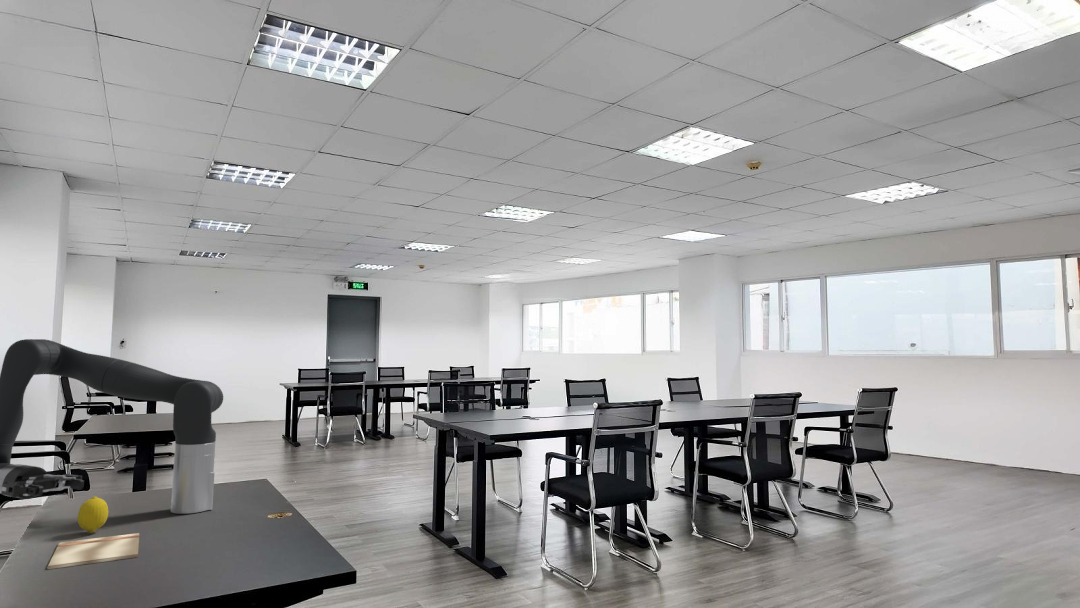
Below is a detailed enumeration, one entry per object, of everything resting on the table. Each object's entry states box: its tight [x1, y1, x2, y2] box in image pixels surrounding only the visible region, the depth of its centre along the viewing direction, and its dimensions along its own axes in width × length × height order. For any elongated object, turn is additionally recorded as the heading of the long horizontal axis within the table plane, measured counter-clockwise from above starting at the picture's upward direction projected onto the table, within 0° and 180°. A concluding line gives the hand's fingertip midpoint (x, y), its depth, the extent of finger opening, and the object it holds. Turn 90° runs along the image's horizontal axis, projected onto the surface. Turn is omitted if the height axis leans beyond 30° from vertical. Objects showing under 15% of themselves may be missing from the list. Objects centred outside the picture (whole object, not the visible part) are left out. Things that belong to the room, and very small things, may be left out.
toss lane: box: [46, 532, 140, 570], centre depth 123 cm, size 14×18×1 cm
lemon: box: [77, 495, 109, 534], centre depth 136 cm, size 6×6×8 cm
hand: (62, 488), depth 140 cm, fingers open, 8 cm apart
